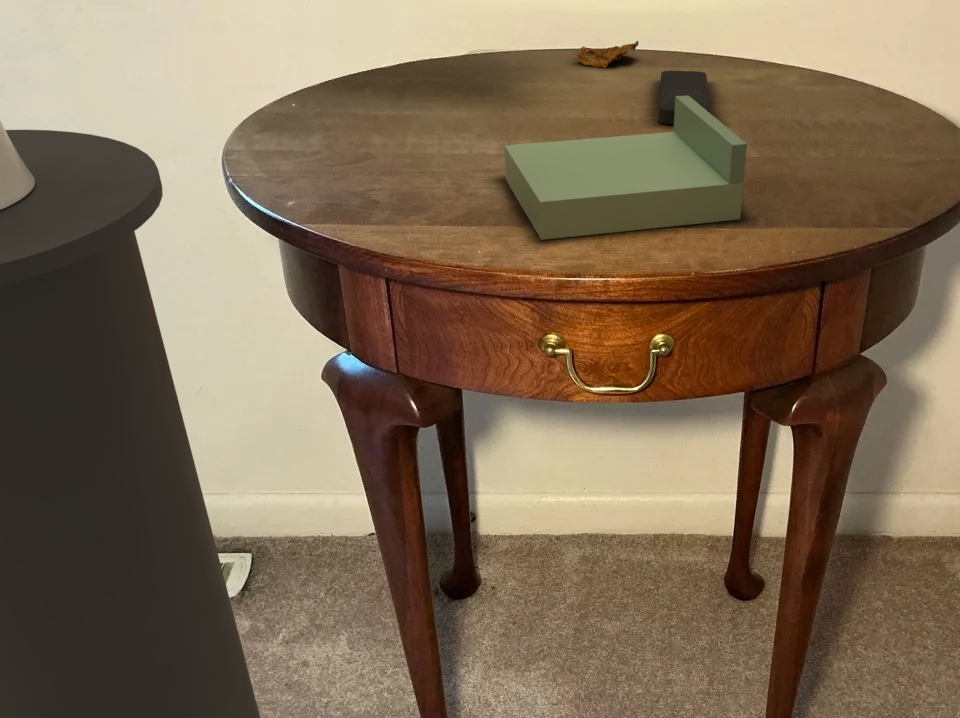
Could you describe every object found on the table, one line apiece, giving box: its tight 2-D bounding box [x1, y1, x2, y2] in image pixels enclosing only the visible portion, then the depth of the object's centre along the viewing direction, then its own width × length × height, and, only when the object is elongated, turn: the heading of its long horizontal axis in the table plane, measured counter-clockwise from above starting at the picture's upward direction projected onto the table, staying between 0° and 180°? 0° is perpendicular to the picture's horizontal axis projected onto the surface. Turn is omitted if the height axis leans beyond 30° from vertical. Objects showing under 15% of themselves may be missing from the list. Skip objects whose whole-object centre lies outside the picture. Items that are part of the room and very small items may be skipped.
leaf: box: [576, 40, 639, 69], centre depth 121 cm, size 6×7×2 cm
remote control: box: [658, 70, 710, 125], centre depth 107 cm, size 5×2×15 cm
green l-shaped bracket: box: [504, 96, 748, 241], centre depth 84 cm, size 16×13×6 cm
